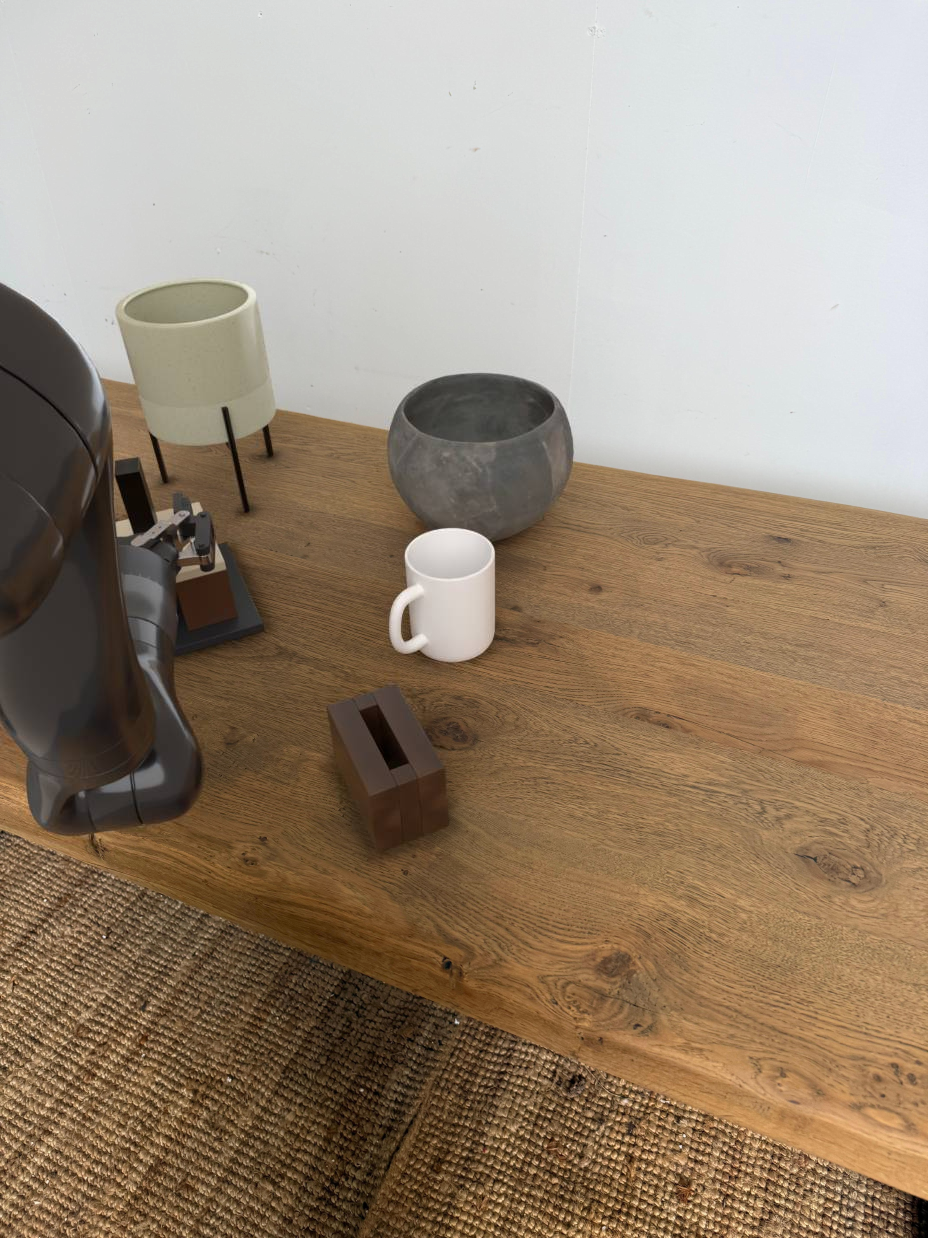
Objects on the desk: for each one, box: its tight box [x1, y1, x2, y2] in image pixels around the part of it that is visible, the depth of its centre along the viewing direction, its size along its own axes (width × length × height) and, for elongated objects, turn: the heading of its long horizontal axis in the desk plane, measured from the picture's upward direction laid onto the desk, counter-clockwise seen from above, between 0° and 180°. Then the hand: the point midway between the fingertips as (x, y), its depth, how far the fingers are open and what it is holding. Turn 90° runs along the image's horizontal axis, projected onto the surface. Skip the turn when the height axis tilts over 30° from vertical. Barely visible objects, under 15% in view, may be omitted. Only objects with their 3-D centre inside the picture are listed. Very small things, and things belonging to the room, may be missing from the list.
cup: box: [388, 528, 496, 663], centre depth 81 cm, size 8×12×10 cm
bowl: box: [386, 372, 575, 543], centre depth 97 cm, size 20×20×15 cm
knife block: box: [325, 683, 449, 854], centre depth 69 cm, size 6×10×7 cm, turn 25°
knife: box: [114, 456, 158, 534], centre depth 84 cm, size 2×6×16 cm, turn 17°
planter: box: [114, 277, 277, 514], centre depth 103 cm, size 15×16×23 cm
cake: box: [115, 501, 265, 658], centre depth 88 cm, size 16×16×8 cm
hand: (131, 508), depth 79 cm, fingers open, 8 cm apart
